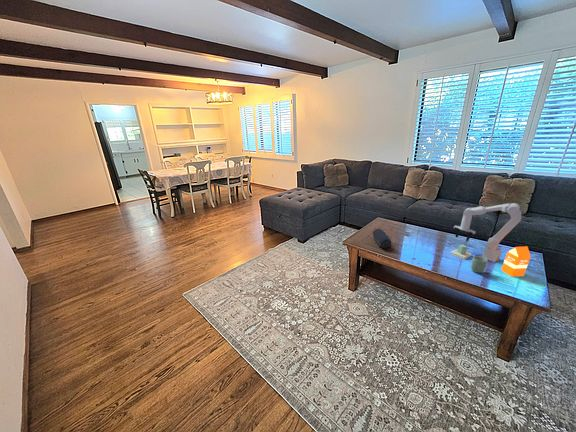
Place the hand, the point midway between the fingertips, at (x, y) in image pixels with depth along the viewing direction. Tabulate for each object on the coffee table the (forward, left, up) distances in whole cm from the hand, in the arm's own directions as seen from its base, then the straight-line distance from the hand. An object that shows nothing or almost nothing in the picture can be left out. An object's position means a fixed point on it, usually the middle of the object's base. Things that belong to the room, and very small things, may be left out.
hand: (461, 238), depth 190 cm
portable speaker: (+41, +44, -10) cm, 61 cm away
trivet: (-5, +8, -11) cm, 14 cm away
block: (-5, +8, -8) cm, 12 cm away
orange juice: (-36, +5, -10) cm, 38 cm away
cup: (-23, +23, -10) cm, 34 cm away
